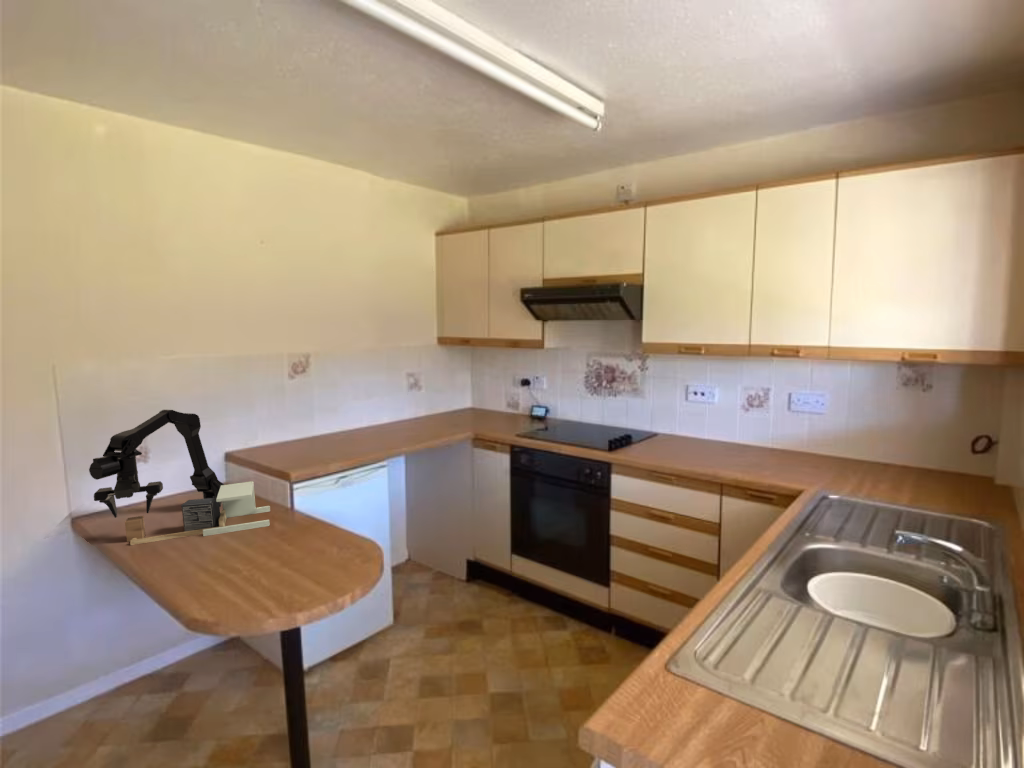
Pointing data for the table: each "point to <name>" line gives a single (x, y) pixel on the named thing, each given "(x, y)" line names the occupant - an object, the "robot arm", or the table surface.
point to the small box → (200, 514)
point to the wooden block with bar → (137, 534)
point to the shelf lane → (238, 507)
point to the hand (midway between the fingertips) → (132, 515)
